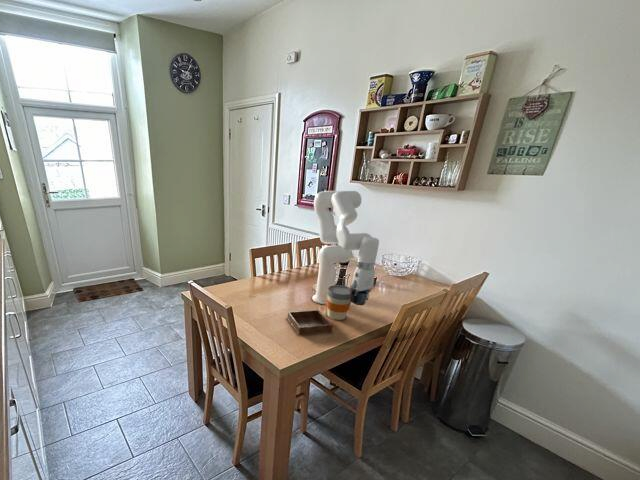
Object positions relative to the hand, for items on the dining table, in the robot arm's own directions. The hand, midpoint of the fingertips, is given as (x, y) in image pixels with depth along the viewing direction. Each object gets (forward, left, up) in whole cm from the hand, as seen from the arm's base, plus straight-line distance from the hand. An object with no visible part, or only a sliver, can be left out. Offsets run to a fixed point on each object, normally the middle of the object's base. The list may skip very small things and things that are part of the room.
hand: (359, 300), depth 154 cm
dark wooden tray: (+22, -4, -14) cm, 26 cm away
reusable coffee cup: (+4, -11, -14) cm, 18 cm away
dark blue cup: (0, 0, -1) cm, 1 cm away
